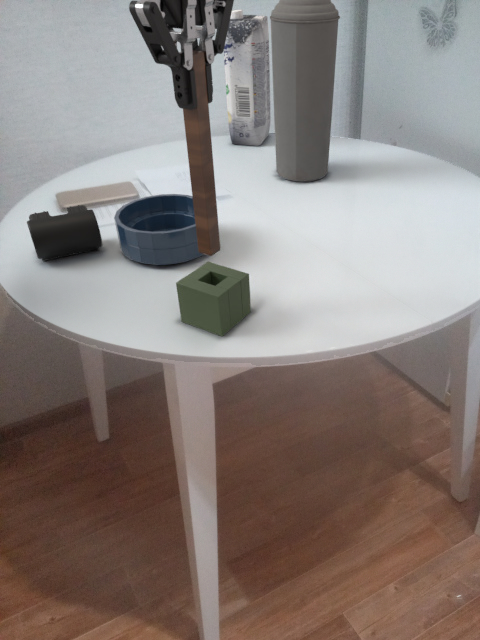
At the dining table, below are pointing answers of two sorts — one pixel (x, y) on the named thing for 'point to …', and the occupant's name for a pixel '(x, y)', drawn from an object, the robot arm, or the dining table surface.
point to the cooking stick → (202, 163)
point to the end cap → (64, 233)
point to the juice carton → (247, 78)
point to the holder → (214, 298)
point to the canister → (303, 85)
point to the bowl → (158, 229)
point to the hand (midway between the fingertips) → (195, 104)
